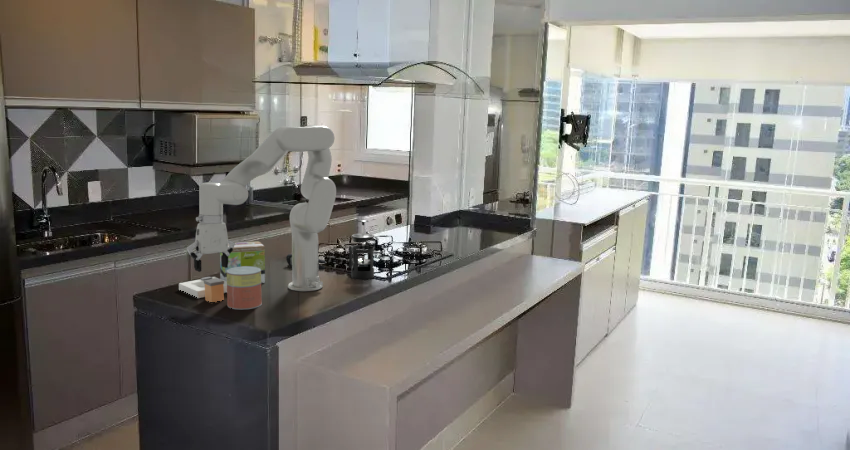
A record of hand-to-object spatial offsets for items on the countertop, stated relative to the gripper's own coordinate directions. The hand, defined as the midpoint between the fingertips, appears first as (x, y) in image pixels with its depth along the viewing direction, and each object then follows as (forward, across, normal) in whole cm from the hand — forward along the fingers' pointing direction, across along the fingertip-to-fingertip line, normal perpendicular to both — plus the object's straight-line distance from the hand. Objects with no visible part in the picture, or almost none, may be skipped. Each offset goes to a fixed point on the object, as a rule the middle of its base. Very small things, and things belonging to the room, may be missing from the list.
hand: (211, 269), depth 221 cm
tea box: (+11, +21, +15) cm, 28 cm away
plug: (+11, +1, 0) cm, 11 cm away
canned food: (+11, +6, -11) cm, 17 cm away
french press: (+10, +60, -9) cm, 61 cm away
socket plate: (+11, +5, +13) cm, 18 cm away
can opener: (+10, +53, +18) cm, 57 cm away
